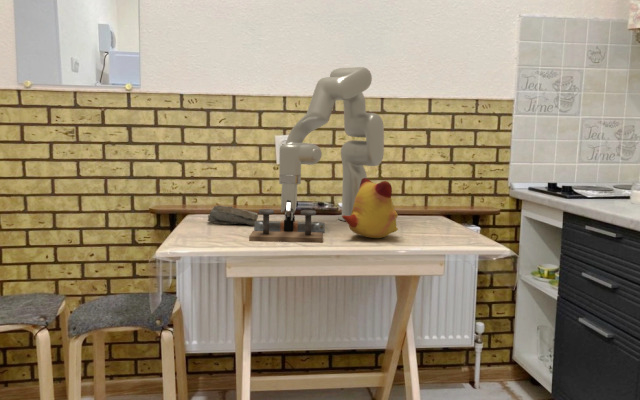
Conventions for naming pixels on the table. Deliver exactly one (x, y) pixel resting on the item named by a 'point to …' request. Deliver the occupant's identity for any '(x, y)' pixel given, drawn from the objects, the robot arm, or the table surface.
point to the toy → (373, 210)
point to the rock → (231, 216)
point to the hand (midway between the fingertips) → (289, 228)
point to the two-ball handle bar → (297, 226)
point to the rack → (286, 236)
